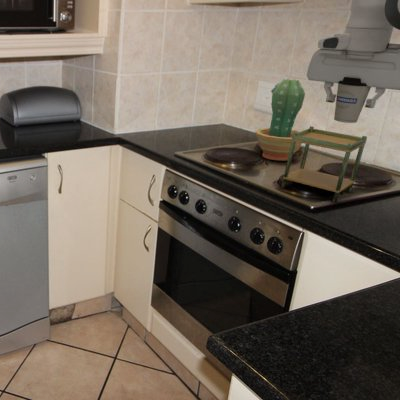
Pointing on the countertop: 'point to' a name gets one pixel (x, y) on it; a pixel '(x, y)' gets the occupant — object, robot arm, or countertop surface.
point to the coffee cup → (350, 99)
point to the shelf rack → (331, 142)
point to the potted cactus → (282, 120)
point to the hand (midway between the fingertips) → (349, 104)
